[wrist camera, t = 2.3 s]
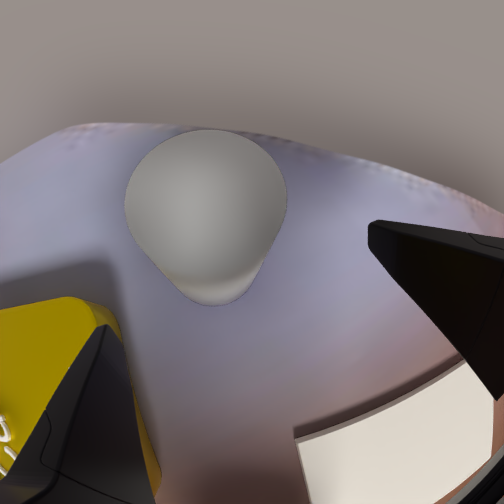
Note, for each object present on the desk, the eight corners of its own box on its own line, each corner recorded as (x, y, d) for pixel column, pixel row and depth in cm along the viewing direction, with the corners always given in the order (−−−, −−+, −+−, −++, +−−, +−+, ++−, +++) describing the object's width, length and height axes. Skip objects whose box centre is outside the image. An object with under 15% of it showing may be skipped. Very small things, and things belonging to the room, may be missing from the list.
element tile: (170, 488, 15) (159, 521, 10) (27, 477, 12) (0, 492, 8) (116, 299, 19) (88, 287, 14) (-14, 323, 16) (-48, 316, 12)
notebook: (484, 455, 16) (490, 457, 15) (321, 551, 13) (324, 557, 12) (482, 346, 19) (489, 345, 18) (294, 438, 16) (297, 443, 15)
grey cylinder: (259, 304, 19) (294, 271, 10) (170, 306, 18) (117, 275, 9) (254, 221, 21) (278, 130, 11) (171, 223, 20) (136, 134, 11)
